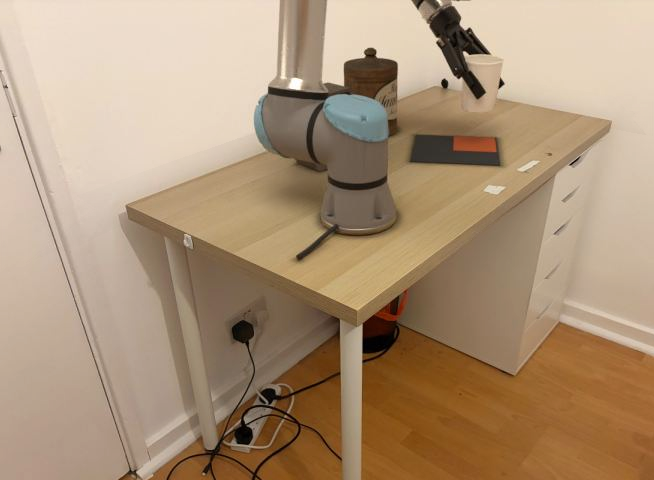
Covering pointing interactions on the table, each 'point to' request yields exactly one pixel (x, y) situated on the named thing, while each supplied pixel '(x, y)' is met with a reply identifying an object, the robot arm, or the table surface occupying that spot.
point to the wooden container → (374, 82)
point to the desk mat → (455, 150)
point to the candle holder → (482, 82)
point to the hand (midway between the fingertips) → (491, 91)
